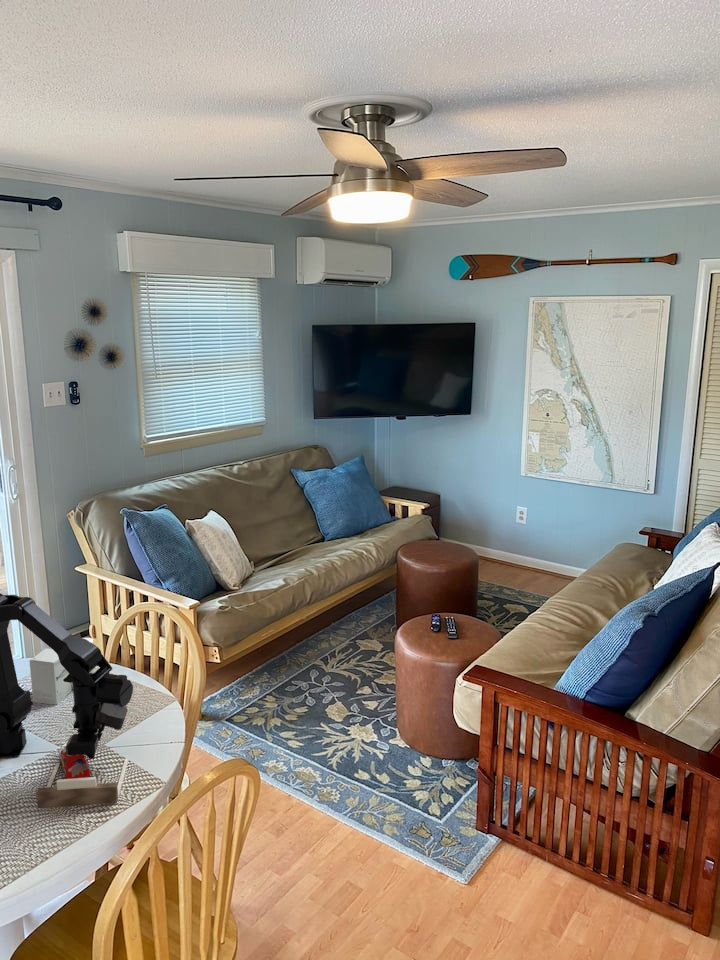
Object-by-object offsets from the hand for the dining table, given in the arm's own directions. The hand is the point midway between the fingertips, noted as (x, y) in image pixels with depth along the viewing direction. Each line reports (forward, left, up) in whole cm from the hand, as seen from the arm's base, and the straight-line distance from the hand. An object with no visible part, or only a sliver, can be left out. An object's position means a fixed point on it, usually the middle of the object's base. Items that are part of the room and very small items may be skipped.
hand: (92, 757), depth 171 cm
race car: (-4, -2, -2) cm, 5 cm away
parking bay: (0, -7, -1) cm, 7 cm away
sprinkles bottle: (-9, +38, -2) cm, 39 cm away
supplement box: (-17, +32, -2) cm, 36 cm away
